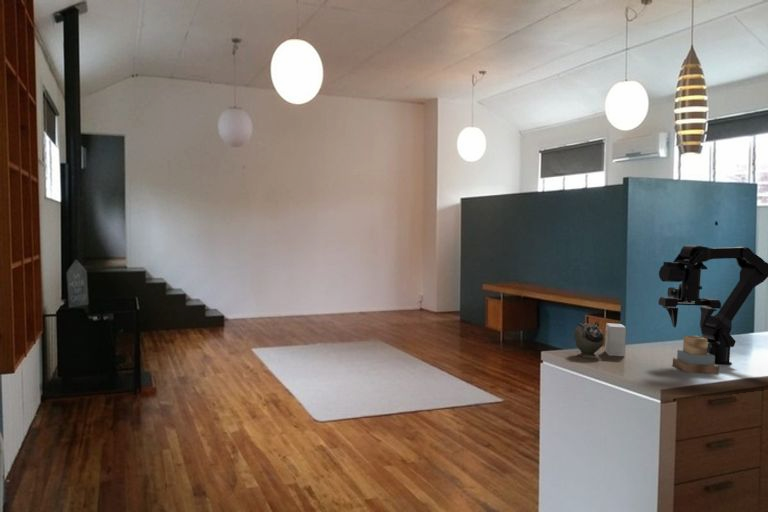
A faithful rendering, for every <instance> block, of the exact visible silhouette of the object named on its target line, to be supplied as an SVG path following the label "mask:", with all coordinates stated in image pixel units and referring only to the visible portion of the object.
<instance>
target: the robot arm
mask: <svg viewBox="0 0 768 512" xmlns="http://www.w3.org/2000/svg"><path fill="white" fill-rule="evenodd" d="M719 259H721V260H722V259H723V260H724V259H735V260H736V264H737V266H738V267H739V268H740V271H739V280H738V282H737V284H736V285H735V287H734V288H733V290H732V291H731V293H730V294H729V296H728V297H727V299H726V300H725V302H724V303H723V305H722V303H721V301H720V299H716V298H712V297H711V298H710V297H708V298H707V297H702V298H700V296H701V295H700V294H701V291H700V290H702V289H703V286H702V285H701V279H702V278H701V276H702V270H708V267H707V266H706V265H705V264H704V263H705V262H707V261H708V262H709V261H711V260H719ZM658 277H659V279H660V281H661V282H664V283H666V282H667V283H680V284H679V285H678V288H675V287H673V286H672V287H671V286H669V287H668V288H667V296H661V297H659V299H658V305H660V306H662V308H664V309H666V310H667V312H668V315H669V318H670V322H671V324H672V327H673V328H676V327H677V323H678V315H679V308H678V307H677V306H697V307H698V306H699V309H700V322H699V328H700V331H701V335H702V336H703V338H706V339H708V341H707V353H709V354H711V355H714V356H715V365H717V364H719V365H733V363H732V361H730V358H731V357H730V356H731V348H734V347H735V344H736V339H734V337H733V336H732V335H731V332H732V321H733V320H734V318H735V316H736V315H737V314H738V312H739V311H740V309H741V308H742V306H743V305H744V303H745V302H746V300H747V299H748V297H749V295H750V294H751V293H752V292H753V290H754V288H756V287H757V286H759V285H760V284H762V283H764V282H765V281H766V280H767V278H768V262H766V261H765V260H764V259H763V258H762V257H761V256H759V255H758V254H756V253H754V252H753V250H751V248H749V247H747V246H735V247H733V246H731V247H708V246H707V247H706V246H703V245H702V246H701V245H691V244H690V245H688V244H687V245H683V246H682V248H681V249H680V252H679V253H678V255H677V256H676V257H675V259H674V260H673V261H672V262H671V261H663V265H662V266H661V267H660V269H659V271H658ZM718 309H719V311H718ZM717 311H718V312H717ZM714 312H717V313H716V314H714ZM713 314H714V315H713Z"/></svg>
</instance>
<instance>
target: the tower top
mask: <svg viewBox="0 0 768 512" xmlns="http://www.w3.org/2000/svg"><path fill="white" fill-rule="evenodd" d="M676 355H677V357H676V358H677V359H679V360H681V361H683V362H686V363H688V364H694V365H714V364H715V356H714V355H711V354H709V353H707V354H690V353H688V352H685V351H683V349H677V353H676ZM715 365H716V364H715Z"/></svg>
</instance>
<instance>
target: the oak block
mask: <svg viewBox="0 0 768 512" xmlns="http://www.w3.org/2000/svg"><path fill="white" fill-rule="evenodd" d="M707 341H708V339H706V338H704V337H702V336H699V335H684V336H683V344H682V350H683V351H685V352H688V353H690V354H707V345H708V342H707Z"/></svg>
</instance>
